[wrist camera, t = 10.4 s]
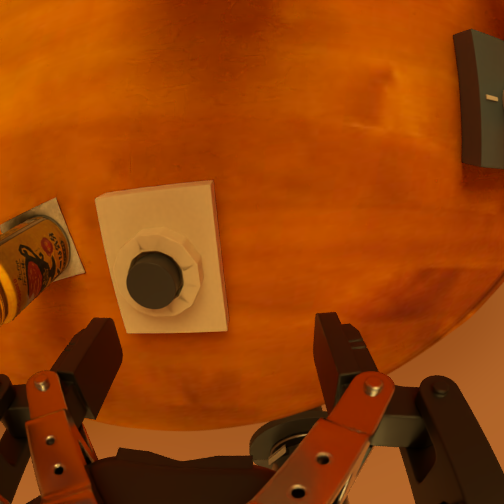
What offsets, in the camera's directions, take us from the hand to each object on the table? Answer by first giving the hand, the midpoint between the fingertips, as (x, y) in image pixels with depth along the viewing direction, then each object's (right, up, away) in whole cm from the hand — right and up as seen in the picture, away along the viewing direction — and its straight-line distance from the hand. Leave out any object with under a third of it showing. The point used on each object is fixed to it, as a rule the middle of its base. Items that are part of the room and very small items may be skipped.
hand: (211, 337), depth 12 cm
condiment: (-18, +4, +14) cm, 23 cm away
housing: (-5, +3, +14) cm, 15 cm away
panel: (+25, +17, +9) cm, 31 cm away
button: (-5, +1, +11) cm, 12 cm away
